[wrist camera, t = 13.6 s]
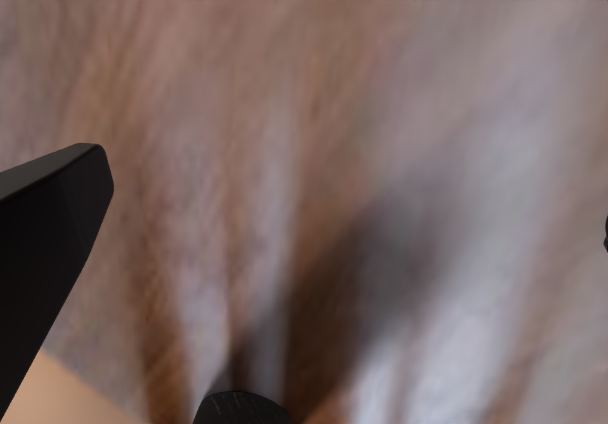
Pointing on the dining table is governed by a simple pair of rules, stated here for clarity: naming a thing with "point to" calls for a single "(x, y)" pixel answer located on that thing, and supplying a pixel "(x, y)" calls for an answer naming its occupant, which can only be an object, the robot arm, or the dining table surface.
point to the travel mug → (239, 410)
